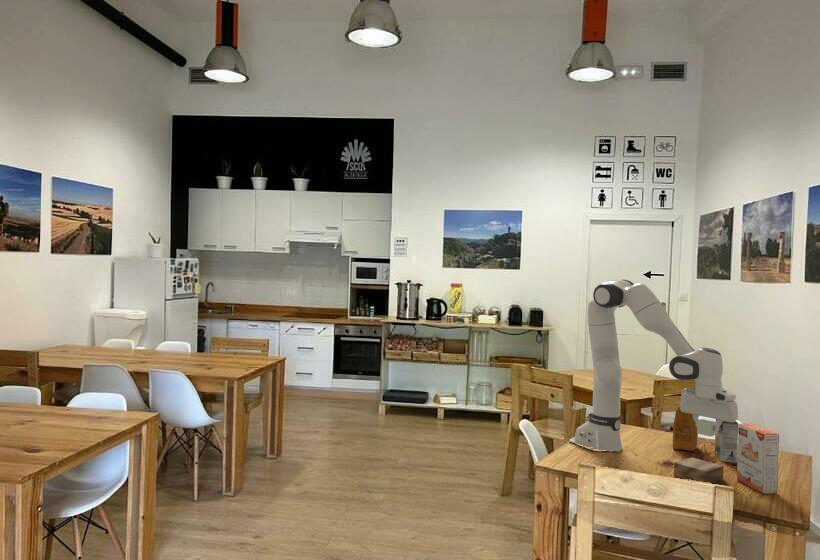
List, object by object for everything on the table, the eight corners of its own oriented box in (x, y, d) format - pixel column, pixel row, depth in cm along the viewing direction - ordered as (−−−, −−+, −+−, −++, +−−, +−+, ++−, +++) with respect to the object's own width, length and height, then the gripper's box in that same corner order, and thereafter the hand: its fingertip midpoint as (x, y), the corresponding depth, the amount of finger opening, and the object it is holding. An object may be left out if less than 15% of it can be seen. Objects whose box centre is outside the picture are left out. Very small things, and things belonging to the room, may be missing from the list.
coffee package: (701, 447, 259) (702, 396, 259) (694, 453, 249) (696, 401, 249) (676, 443, 265) (678, 393, 265) (669, 449, 256) (670, 397, 255)
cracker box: (735, 480, 218) (737, 422, 218) (751, 480, 218) (753, 423, 218) (761, 494, 204) (763, 433, 204) (778, 494, 204) (780, 433, 204)
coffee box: (713, 454, 249) (714, 416, 249) (730, 456, 248) (731, 417, 247) (720, 461, 240) (721, 421, 240) (737, 463, 239) (739, 422, 238)
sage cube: (697, 433, 224) (697, 420, 224) (703, 431, 227) (704, 418, 227) (710, 436, 220) (711, 423, 220) (717, 434, 223) (717, 421, 223)
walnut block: (673, 476, 221) (674, 462, 220) (690, 470, 228) (691, 457, 228) (706, 485, 211) (706, 471, 211) (722, 479, 218) (723, 465, 218)
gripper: (677, 388, 229) (675, 423, 230) (732, 397, 213) (731, 436, 213) (685, 386, 233) (684, 421, 233) (740, 396, 217) (739, 434, 217)
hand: (707, 428), depth 223 cm, fingers closed on sage cube, 5 cm apart
